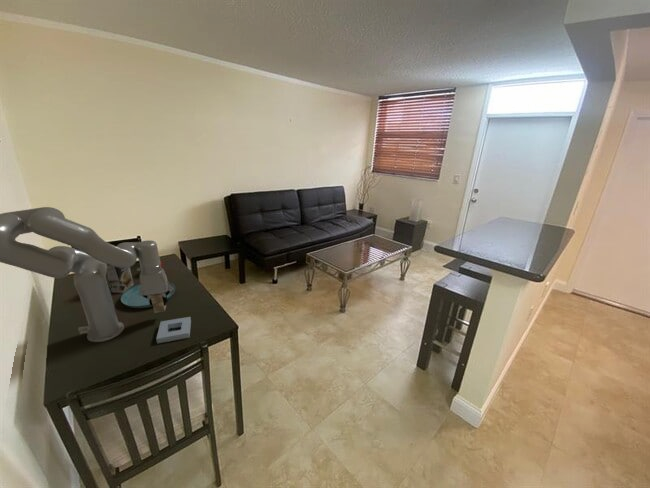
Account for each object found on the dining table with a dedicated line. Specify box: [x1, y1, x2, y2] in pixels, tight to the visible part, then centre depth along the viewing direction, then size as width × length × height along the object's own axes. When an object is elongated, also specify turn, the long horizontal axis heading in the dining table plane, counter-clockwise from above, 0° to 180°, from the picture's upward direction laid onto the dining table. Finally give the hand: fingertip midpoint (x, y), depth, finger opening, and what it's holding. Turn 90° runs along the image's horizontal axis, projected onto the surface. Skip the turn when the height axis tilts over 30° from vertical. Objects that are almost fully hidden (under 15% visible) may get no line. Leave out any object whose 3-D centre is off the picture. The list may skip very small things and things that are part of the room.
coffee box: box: [106, 264, 134, 294], centre depth 151 cm, size 9×6×16 cm
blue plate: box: [120, 281, 176, 309], centre depth 146 cm, size 24×24×3 cm
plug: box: [151, 293, 167, 314], centre depth 127 cm, size 4×4×9 cm
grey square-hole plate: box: [155, 316, 192, 344], centre depth 122 cm, size 12×12×2 cm
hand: (159, 304), depth 128 cm, fingers closed on plug, 4 cm apart
